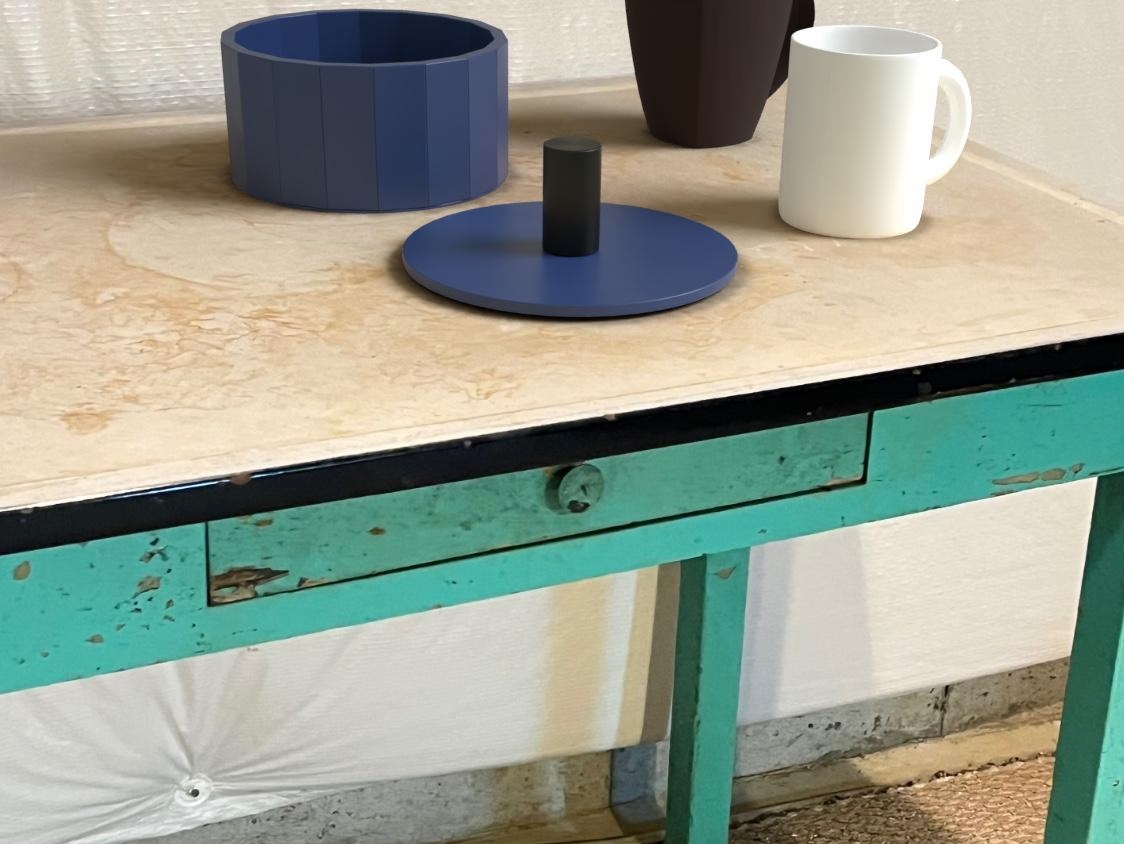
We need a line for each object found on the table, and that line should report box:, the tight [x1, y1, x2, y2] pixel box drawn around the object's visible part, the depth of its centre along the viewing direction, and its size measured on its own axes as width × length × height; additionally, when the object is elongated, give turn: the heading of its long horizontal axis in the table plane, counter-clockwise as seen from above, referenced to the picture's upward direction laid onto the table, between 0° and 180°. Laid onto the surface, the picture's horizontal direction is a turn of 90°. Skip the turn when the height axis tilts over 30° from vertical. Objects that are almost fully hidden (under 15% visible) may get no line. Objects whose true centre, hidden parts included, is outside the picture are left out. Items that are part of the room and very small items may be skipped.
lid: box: [401, 135, 739, 318], centre depth 88 cm, size 18×18×7 cm
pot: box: [219, 8, 509, 215], centre depth 102 cm, size 17×17×8 cm
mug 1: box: [624, 0, 816, 150], centre depth 112 cm, size 10×14×12 cm
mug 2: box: [778, 24, 972, 240], centre depth 97 cm, size 12×8×10 cm
